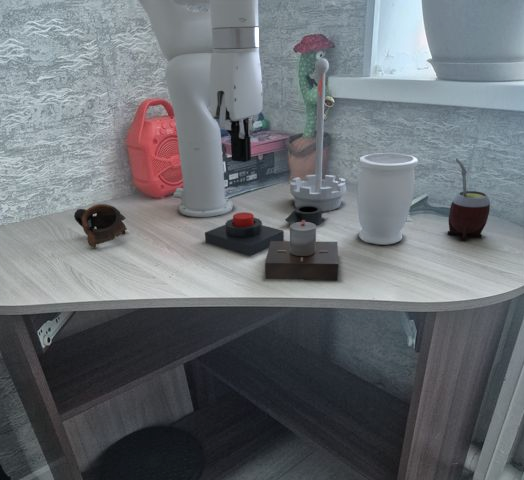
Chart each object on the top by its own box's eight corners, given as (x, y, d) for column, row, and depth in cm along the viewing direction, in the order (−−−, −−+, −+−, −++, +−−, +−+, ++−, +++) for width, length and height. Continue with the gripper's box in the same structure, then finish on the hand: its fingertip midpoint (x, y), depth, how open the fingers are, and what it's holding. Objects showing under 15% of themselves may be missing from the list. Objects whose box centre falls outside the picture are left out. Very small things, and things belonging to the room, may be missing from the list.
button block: (205, 243, 96) (203, 223, 94) (240, 229, 102) (239, 210, 100) (249, 257, 89) (248, 236, 87) (283, 241, 95) (283, 221, 93)
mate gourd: (483, 231, 96) (501, 151, 88) (482, 245, 90) (501, 161, 82) (444, 227, 99) (458, 150, 91) (441, 240, 93) (455, 159, 85)
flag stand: (294, 196, 122) (295, 57, 105) (346, 197, 119) (355, 55, 103) (286, 211, 111) (285, 60, 95) (343, 213, 109) (352, 58, 92)
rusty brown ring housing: (140, 234, 103) (132, 207, 95) (118, 267, 99) (108, 242, 91) (90, 216, 104) (79, 188, 97) (66, 249, 100) (53, 221, 93)
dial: (315, 256, 80) (316, 228, 78) (289, 256, 81) (288, 228, 78) (315, 246, 84) (316, 219, 82) (290, 246, 85) (290, 219, 82)
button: (229, 225, 94) (228, 216, 93) (243, 219, 96) (242, 211, 95) (244, 229, 91) (243, 220, 90) (258, 223, 94) (257, 214, 93)
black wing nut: (284, 217, 108) (284, 204, 106) (329, 216, 107) (330, 203, 106) (284, 229, 101) (284, 215, 100) (332, 228, 101) (333, 214, 99)
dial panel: (265, 279, 81) (264, 262, 79) (271, 256, 89) (270, 240, 87) (337, 280, 79) (338, 262, 78) (336, 257, 88) (337, 240, 86)
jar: (408, 249, 90) (420, 165, 82) (352, 246, 92) (358, 164, 84) (406, 229, 99) (416, 152, 90) (355, 227, 100) (360, 151, 92)
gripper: (242, 39, 84) (246, 150, 95) (188, 43, 74) (200, 167, 84) (279, 39, 81) (279, 154, 91) (228, 43, 71) (235, 172, 81)
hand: (241, 160), depth 88 cm, fingers closed
